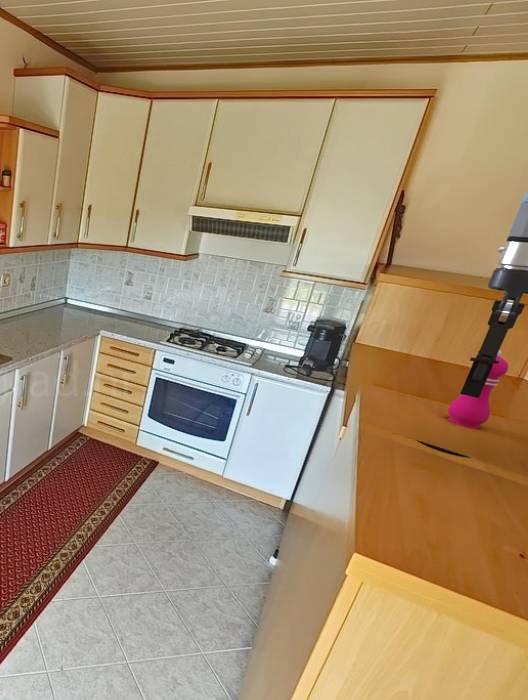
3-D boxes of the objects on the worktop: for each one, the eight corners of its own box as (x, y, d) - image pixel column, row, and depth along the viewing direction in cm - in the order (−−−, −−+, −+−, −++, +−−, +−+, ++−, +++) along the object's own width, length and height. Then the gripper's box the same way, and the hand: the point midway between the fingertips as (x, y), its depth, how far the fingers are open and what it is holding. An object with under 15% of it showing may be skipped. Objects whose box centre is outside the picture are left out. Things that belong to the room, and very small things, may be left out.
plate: (481, 449, 105) (484, 442, 104) (474, 462, 98) (477, 455, 97) (418, 429, 112) (421, 423, 112) (408, 440, 105) (411, 433, 104)
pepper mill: (474, 439, 110) (514, 354, 103) (435, 425, 116) (471, 345, 109) (484, 434, 114) (524, 352, 107) (447, 421, 120) (482, 343, 113)
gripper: (497, 266, 92) (448, 383, 100) (493, 266, 83) (440, 395, 91) (553, 272, 87) (497, 395, 95) (556, 273, 78) (494, 408, 86)
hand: (469, 395), depth 93 cm, fingers closed
